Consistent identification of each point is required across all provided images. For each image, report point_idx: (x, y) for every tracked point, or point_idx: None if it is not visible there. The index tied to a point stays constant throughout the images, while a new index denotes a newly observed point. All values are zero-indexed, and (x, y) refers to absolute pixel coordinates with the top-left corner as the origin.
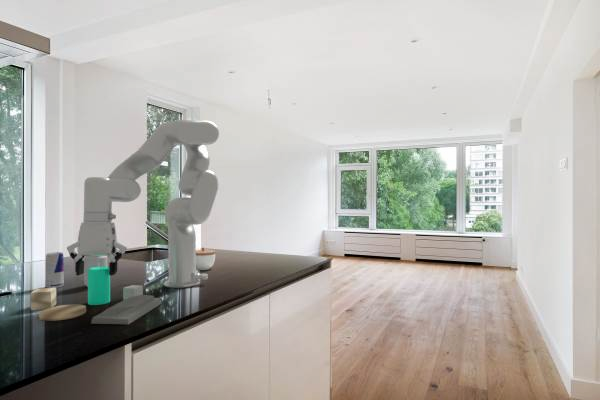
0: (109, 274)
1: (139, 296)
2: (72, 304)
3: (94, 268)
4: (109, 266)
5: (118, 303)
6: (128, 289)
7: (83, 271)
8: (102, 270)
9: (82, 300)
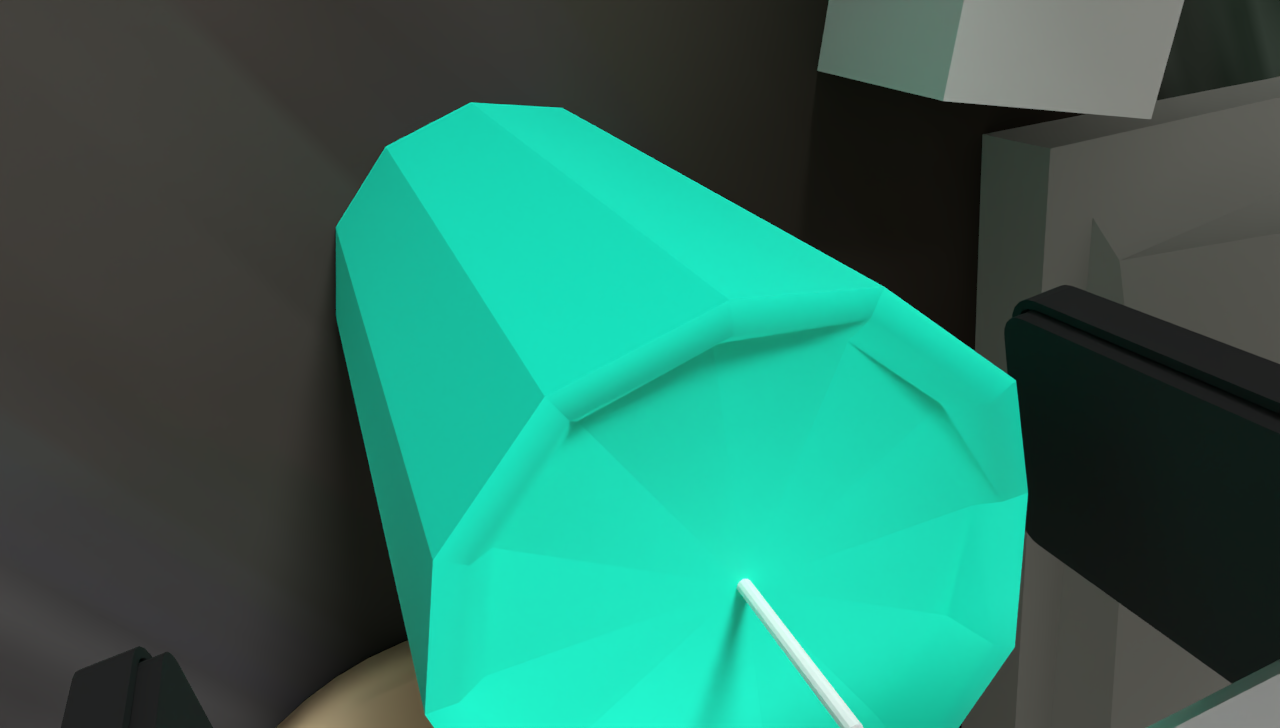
0: (1039, 535)
1: (1268, 332)
2: (390, 692)
3: (492, 547)
4: (1203, 657)
5: (1129, 633)
6: (1037, 108)
7: (172, 704)
8: (958, 674)
9: (70, 252)
